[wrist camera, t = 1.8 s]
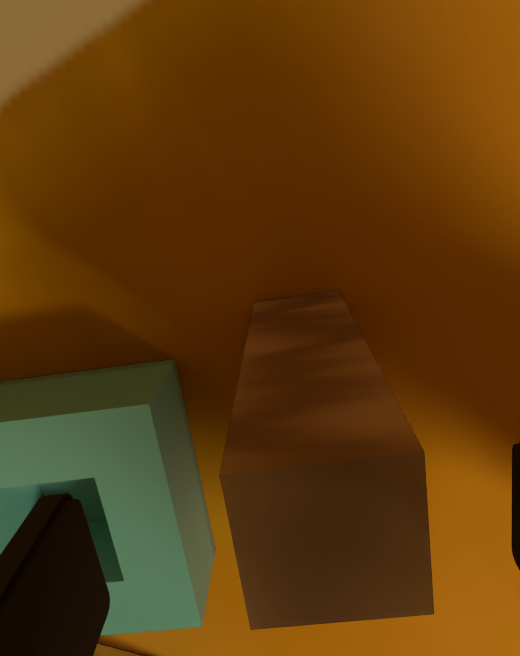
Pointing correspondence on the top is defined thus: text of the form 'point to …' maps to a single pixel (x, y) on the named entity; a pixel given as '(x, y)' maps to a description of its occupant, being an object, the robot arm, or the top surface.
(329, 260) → the top surface
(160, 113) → the top surface
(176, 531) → the green square frame
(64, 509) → the robot arm
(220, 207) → the top surface
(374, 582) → the long wooden beam
